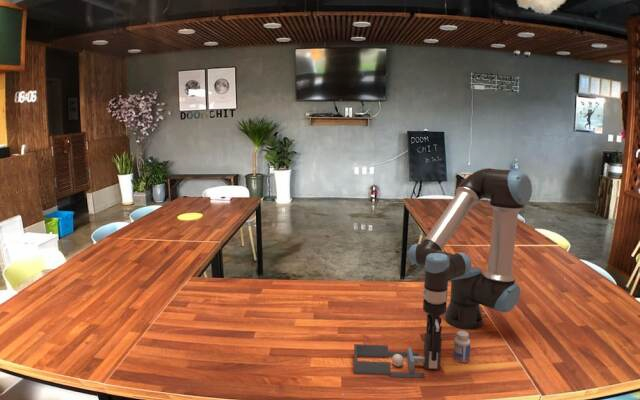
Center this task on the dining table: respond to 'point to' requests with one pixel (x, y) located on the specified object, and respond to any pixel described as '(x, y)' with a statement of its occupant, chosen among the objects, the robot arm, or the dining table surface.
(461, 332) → the pill bottle
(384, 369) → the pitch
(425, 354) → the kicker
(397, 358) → the ball
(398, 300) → the dining table surface
